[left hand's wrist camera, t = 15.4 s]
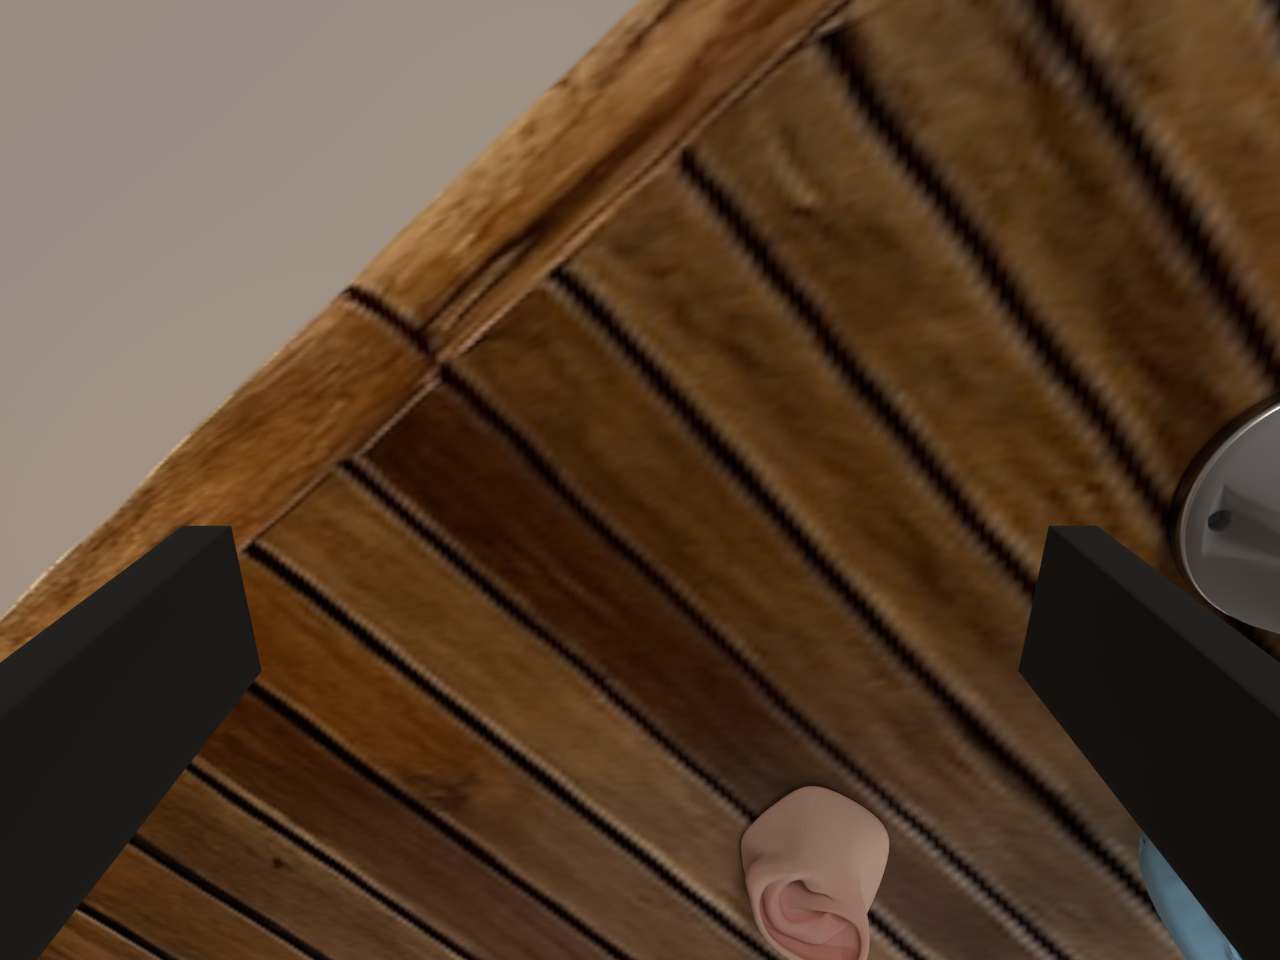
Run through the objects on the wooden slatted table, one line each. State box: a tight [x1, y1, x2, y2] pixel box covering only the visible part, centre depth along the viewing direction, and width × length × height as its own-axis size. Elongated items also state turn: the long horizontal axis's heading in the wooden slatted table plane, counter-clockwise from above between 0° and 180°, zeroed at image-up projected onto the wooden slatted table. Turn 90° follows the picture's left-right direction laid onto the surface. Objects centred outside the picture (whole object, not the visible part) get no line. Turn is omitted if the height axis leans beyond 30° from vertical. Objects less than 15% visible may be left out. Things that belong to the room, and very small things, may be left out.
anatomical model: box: [741, 786, 889, 960], centre depth 54 cm, size 13×4×12 cm
